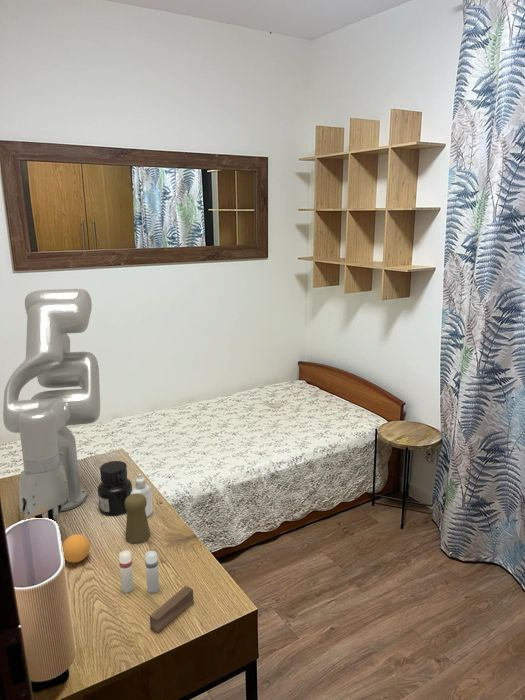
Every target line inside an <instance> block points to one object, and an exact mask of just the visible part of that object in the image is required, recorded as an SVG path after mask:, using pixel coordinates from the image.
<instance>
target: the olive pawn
mask: <svg viewBox="0 0 525 700" xmlns="http://www.w3.org/2000/svg"><path fill="white" fill-rule="evenodd" d="M146 504H147V501H146V498H145V496H144V495H142V494H139V493H136V494H131V495H129V496H128V497H127V498H126V500H125V509H126V510H127V512H126V523H125V525H126V526H125V537H124V539H125V542H127V544H130V545H141V544H143V543H146V542H147V541H149V540H150V538H151V532H150V527H149V522H148V521H149V520H148V517H147V516H146V512H145V507H146Z"/></svg>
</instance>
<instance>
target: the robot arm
mask: <svg viewBox="0 0 525 700" xmlns="http://www.w3.org/2000/svg"><path fill="white" fill-rule="evenodd" d="M92 306H93V304H92V298H91V296H90V292H89V291H87V290H86V289H83V288H65V289H64V288H63V289H61V288H59V289H41V290H40V289H39V290H34V291H31V292H29V293H27V295H26V296H25V298H24V307H25V313H26V316H27V317H26V318H27V319H26V344H25V345H26V346H25V348H26V349H25V358H24V361H22V363H21V364H20V365H18V367H16V369H14V371H13V372H12V374H11V376H9V378H8V380H7V382H6V384H5V387H4V391H3V392H4V394H3V404H2V405H3V406H2V407H3V410H2V411H3V412H2V417H3V418H2V420H3V424H4V427H5V428H6V430H7V431H8V432H10V433H12V434H13V433H15V434H19V436H20V445H21V452H22V461H23V463H22V464H23V470H22V471H21V472H20V477H19V483H18V484H19V486H18V490H19V491H18V492H19V493H18V498H19V509H20V511H21V512H24V516H23V520H24V521H25V520H26V519H30V518H49V519H52V520H54V521H56V522H57V519H58V517H59V513H61V512H65V511H69V510H72V509H74V508H77V507H78V506H80V505H81V504H83V503H84V502H85V500H86V499H87V496H88V493H87V490H86V489H85V488H84V487H83V486H81V484H80V483H81V482H80V473H79V472H80V471H79V463H78V453H77V444H76V443H77V442H76V438H75V436H74V434H73V432H72V431H71V430H70V429H69V428H68V426H76V425H77V426H78V425H87V424H88V425H89V424H93V423H96V422H97V421H98V420H99V417H100V415H101V413H100V412H101V394H100V393H101V391H100V389H101V388H100V368H99V367H100V366H99V362H98V359H97V357H96V355H95V354H94V353H92V352H90V351H71V339H70V336H69V334H81V333H83V332H85V331H86V330H87V329H88V326H89V323H90V318H91V315H92V314H91V313H92ZM35 378H37V383H38V384H39V385H40V386H41V387H43V388H47V389H54V390H44V391H40V392H38V393H35V394H34V395H33V396H32V397H31V398H30V399H26V400H19V399H20V398H19V397H20V393H21V391H22V389H23V388H24V386H26V384H27V385H28V383H29V382H31V380H34V379H35ZM76 387H80V388H76ZM63 388H64V389H63ZM66 388H70V389H66Z"/></svg>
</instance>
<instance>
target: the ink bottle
mask: <svg viewBox="0 0 525 700" xmlns="http://www.w3.org/2000/svg"><path fill="white" fill-rule="evenodd" d="M99 471H100V481H101V482H100V483H99V484H98V486H97V498H98V507H99V509H98V510H99V511H100V512H101V513H102V514H103V515H106V516H117V515H121V514H125V513H127V510H126V509H125V500H126V498H127V497H128V496H129V495H130V494H131V492H132V490H133V483H132V480H130V479H129V478H128V468H127V463H126V462H125V461H121V460H113V461H112V460H111V461H108V462H104V463H103V464H102V465H101V466H100V467H99Z"/></svg>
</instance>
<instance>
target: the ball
mask: <svg viewBox="0 0 525 700" xmlns="http://www.w3.org/2000/svg"><path fill="white" fill-rule="evenodd" d="M62 547H63V552H64V557H65V558H64V557H63V558H64V560H66V561H67V562H69V563H74V564H75V563H79V562H81V561H83V560H85V558H86V557H87V556H88V554H89V553H90V548H91V547H90V542H89V540H88V538H87V537H85V536H84V535H82V534H72V535H70V536H68V537H67V538H66V539H64V541H63V543H62V546H61V548H62Z"/></svg>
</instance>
